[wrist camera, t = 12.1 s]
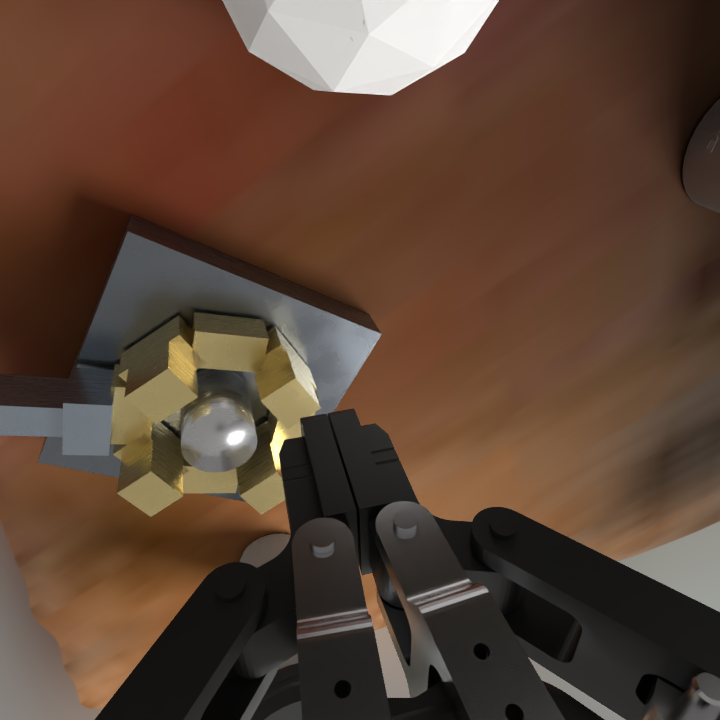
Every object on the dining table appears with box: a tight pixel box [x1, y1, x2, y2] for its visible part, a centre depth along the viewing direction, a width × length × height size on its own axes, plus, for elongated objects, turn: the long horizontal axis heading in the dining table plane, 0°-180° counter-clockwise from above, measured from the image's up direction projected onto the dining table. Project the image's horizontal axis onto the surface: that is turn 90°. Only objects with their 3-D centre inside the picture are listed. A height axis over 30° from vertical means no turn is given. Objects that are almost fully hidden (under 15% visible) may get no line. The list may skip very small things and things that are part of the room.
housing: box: [38, 215, 381, 502], centre depth 35 cm, size 17×17×8 cm
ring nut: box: [0, 312, 321, 517], centre depth 32 cm, size 21×12×5 cm, turn 74°
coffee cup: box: [240, 534, 302, 720], centre depth 44 cm, size 8×8×15 cm
